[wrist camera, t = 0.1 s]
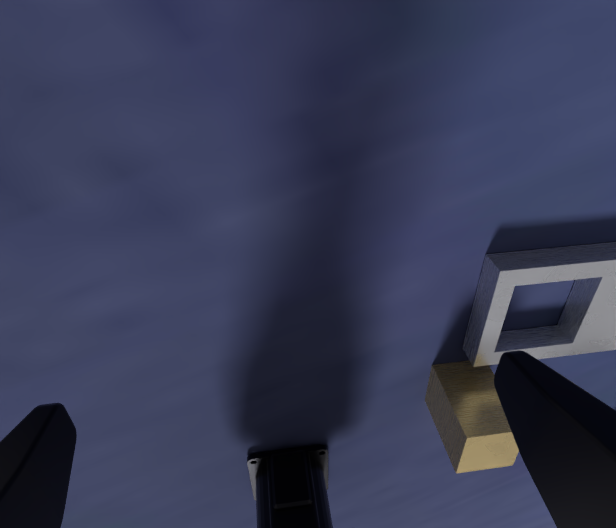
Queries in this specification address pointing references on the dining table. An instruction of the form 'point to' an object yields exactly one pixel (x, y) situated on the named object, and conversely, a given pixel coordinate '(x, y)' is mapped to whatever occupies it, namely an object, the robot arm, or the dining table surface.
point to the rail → (576, 314)
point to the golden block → (470, 417)
